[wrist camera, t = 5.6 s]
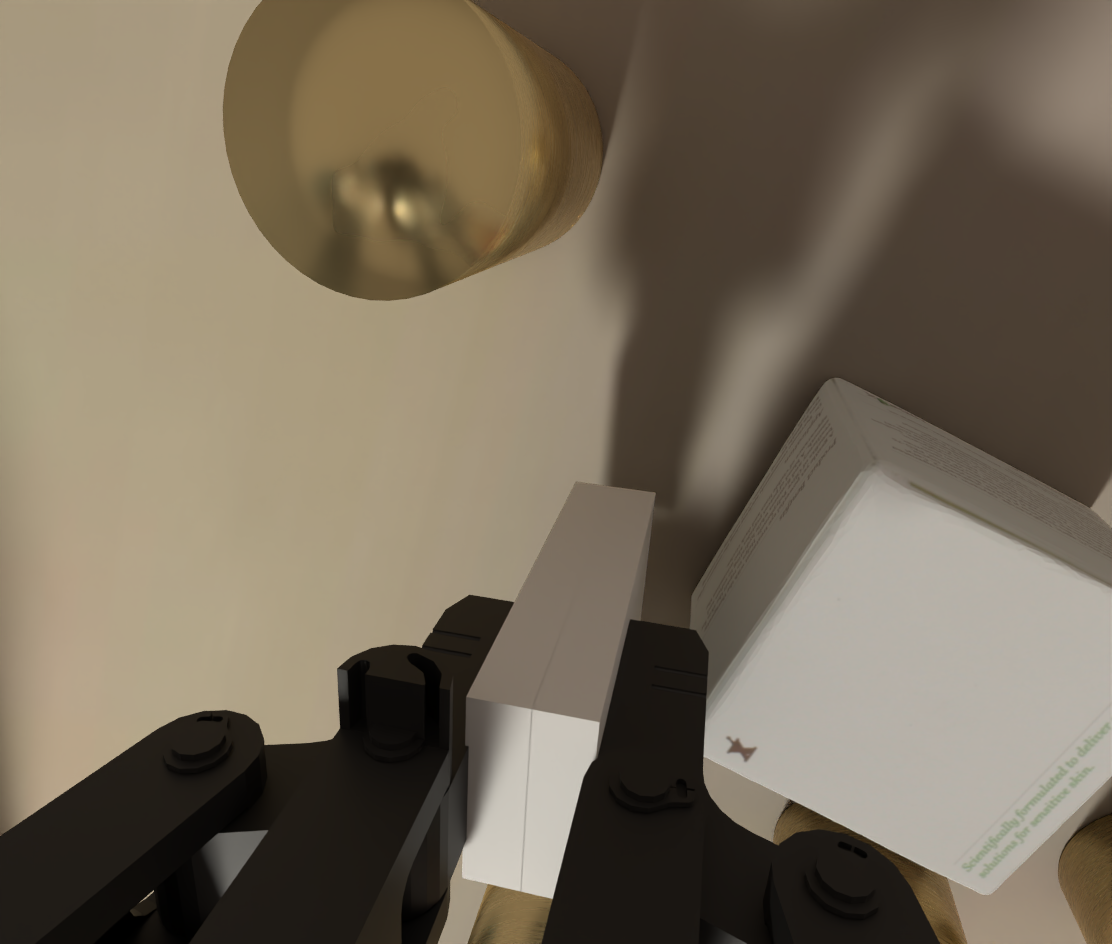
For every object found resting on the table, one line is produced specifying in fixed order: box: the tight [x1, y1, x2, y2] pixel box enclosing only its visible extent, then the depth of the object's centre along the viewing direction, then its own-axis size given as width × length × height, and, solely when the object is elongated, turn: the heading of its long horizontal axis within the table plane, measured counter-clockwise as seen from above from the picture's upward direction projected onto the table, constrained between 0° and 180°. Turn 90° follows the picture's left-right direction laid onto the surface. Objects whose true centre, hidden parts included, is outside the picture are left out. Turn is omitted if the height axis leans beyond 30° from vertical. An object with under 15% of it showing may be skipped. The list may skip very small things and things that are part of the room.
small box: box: [690, 378, 1112, 895], centre depth 13 cm, size 6×6×5 cm
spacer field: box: [223, 0, 1112, 944], centre depth 13 cm, size 20×19×6 cm
